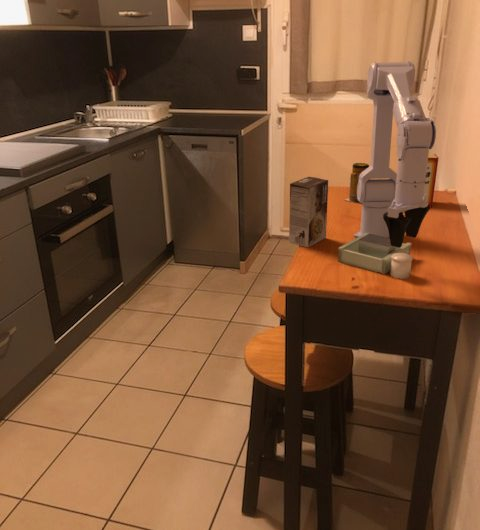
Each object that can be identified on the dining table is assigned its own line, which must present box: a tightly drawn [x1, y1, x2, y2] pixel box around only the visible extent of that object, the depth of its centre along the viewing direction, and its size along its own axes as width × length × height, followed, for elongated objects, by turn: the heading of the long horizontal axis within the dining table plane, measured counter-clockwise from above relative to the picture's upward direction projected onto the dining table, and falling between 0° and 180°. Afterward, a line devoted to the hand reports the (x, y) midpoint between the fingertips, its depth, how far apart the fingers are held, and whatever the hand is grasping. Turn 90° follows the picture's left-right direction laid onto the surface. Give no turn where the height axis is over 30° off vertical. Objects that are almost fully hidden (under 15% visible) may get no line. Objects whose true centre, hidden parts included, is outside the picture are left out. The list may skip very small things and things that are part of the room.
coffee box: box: [288, 176, 329, 248], centre depth 132 cm, size 9×6×16 cm
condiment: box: [343, 162, 370, 204], centre depth 168 cm, size 7×8×12 cm
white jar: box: [389, 253, 414, 280], centre depth 113 cm, size 5×5×4 cm
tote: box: [337, 233, 412, 275], centre depth 122 cm, size 13×12×4 cm
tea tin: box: [358, 234, 397, 259], centre depth 121 cm, size 5×8×5 cm, turn 49°
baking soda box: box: [424, 153, 440, 207], centre depth 162 cm, size 10×6×16 cm
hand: (403, 241), depth 111 cm, fingers open, 7 cm apart
